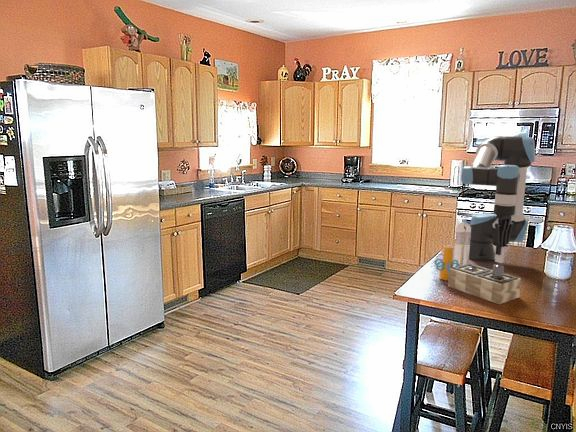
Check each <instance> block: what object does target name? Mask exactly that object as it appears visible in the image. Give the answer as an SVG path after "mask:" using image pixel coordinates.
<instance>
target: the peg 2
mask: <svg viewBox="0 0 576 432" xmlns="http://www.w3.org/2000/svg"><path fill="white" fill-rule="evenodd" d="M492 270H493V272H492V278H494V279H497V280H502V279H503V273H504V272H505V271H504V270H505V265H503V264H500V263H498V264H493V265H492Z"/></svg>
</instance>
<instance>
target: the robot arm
mask: <svg viewBox="0 0 576 432" xmlns="http://www.w3.org/2000/svg"><path fill="white" fill-rule="evenodd" d="M535 146H536V145H535V139H534V137H529V136H523V135H522V136H502V135H501V136H500V135H499V136H494V137H489V138H488V139H486V140H484V141H482V142H481V143H480V144H479V145H478V147H477V148H476V151H475V157H474V159H473V161H472V163H471V165H467V166H463V167H462V170H461V176H460V178H461V179H460V180H461V183H462V184H463V185H464V184H466V185H469V186H471V185H473V186H475V185H476V186H489V187H490V186H493V187H495V195H494V197H495V198H494V205H493V213H478V214H474V215H473V216H472V217H471V218H470V223H469V225H470V226H471V228H472V230H471V238H470V251H469V252H470V253H469V260H473V261H478V262H479V261H480V262H491V261H494V262H496V263H498V264H503V263H504V258H505V257H504V256H505V248H508V246H509V244H510V243H522V242H524V240H525V237H526V233H527V229H528V225H529V220H527V219H526V216H525V214H523V212H524V201H525V192H526V191H525V190H526V181H527V172H528V169H529V167H531V166H532V163H534V162H535V161H536V147H535ZM494 161H499V162H503V164H501V165H498V167H492V163H493V162H494ZM494 247H495V248H494Z"/></svg>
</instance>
